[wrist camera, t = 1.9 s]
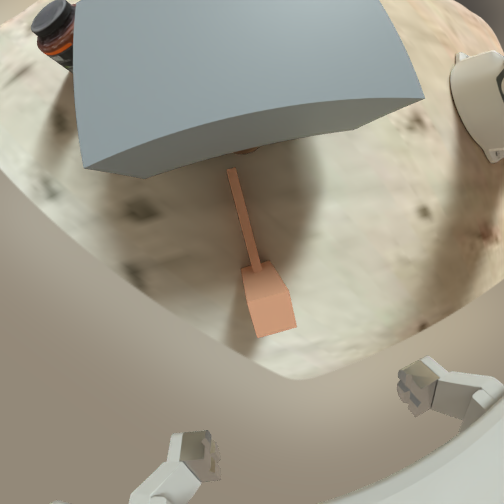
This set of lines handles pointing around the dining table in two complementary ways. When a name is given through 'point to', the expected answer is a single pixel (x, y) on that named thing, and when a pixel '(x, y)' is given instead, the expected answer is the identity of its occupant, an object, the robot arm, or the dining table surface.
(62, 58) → the supplement bottle
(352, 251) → the dining table surface
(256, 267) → the square headed mallet
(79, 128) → the grey block
